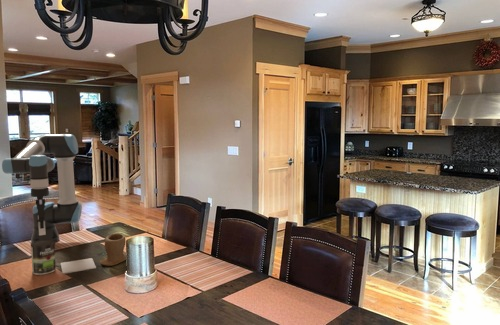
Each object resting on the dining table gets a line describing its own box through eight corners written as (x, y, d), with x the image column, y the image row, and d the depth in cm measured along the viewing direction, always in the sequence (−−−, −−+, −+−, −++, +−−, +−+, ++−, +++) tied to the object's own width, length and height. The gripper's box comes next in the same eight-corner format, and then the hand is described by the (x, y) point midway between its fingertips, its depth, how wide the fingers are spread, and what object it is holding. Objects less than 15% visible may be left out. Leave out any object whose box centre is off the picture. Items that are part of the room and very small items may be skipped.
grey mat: (60, 263, 200) (60, 263, 200) (92, 258, 208) (92, 258, 207) (62, 273, 187) (62, 272, 187) (96, 268, 194) (96, 267, 194)
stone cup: (113, 269, 193) (112, 239, 192) (96, 265, 199) (95, 236, 197) (136, 260, 206) (135, 232, 205) (120, 256, 212) (119, 229, 210)
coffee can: (60, 270, 192) (58, 242, 191) (38, 276, 184) (36, 247, 182) (49, 265, 198) (48, 238, 197) (28, 271, 190) (26, 243, 189)
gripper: (30, 184, 196) (32, 226, 198) (30, 192, 174) (33, 239, 176) (47, 183, 199) (49, 224, 201) (49, 190, 178) (51, 236, 180)
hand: (42, 231), depth 189 cm, fingers open, 13 cm apart
